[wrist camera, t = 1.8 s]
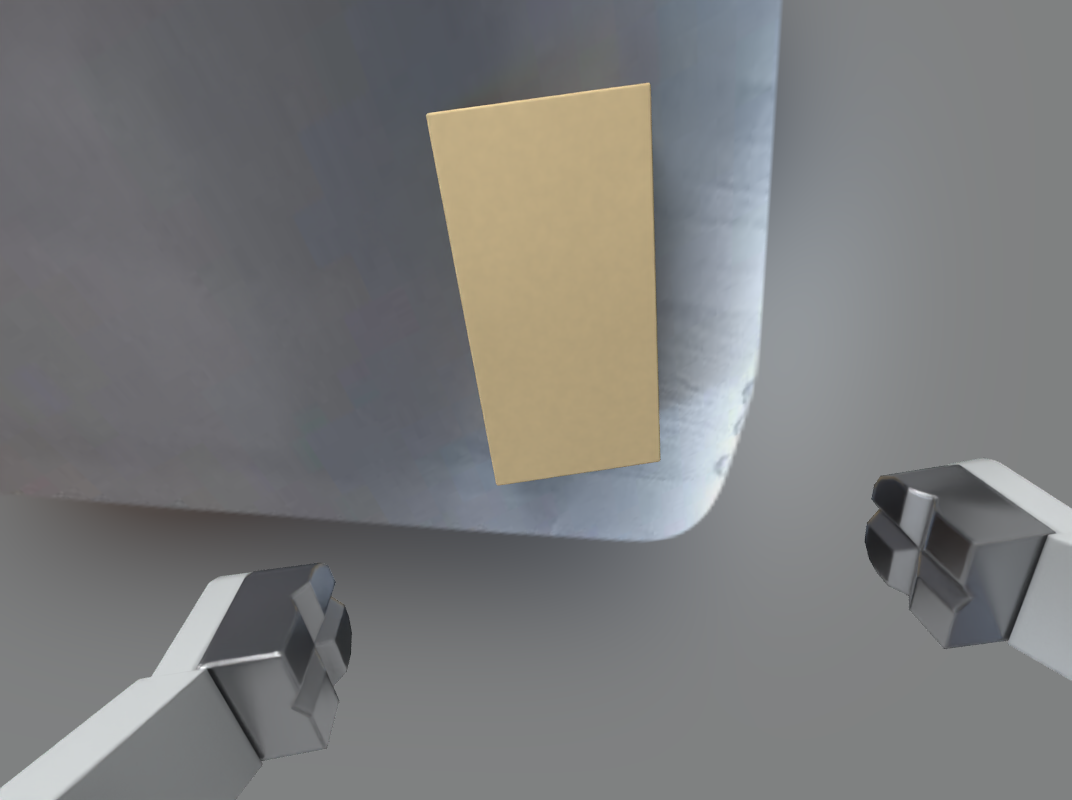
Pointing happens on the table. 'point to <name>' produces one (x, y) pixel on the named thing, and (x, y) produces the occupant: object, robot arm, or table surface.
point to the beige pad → (557, 275)
